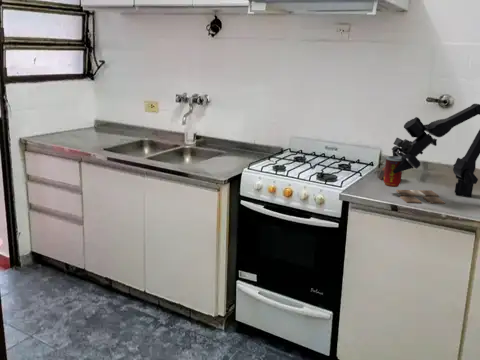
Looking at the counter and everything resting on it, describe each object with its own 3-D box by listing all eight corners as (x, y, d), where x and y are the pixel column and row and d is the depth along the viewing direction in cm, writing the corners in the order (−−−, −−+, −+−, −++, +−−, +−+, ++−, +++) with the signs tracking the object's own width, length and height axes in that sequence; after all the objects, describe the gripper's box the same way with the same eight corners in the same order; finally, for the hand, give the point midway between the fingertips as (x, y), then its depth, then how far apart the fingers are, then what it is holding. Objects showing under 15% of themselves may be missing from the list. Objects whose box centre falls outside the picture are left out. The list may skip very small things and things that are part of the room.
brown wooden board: (431, 191, 222) (431, 190, 221) (438, 196, 215) (438, 195, 215) (396, 191, 220) (396, 189, 220) (402, 195, 213) (402, 194, 213)
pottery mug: (379, 176, 245) (390, 163, 243) (395, 188, 241) (406, 174, 239) (373, 175, 235) (384, 161, 232) (389, 187, 231) (401, 173, 229)
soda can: (398, 183, 218) (402, 156, 215) (401, 188, 212) (405, 159, 208) (382, 182, 219) (385, 155, 216) (384, 187, 212) (387, 158, 209)
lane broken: (436, 198, 212) (437, 196, 212) (444, 203, 206) (444, 202, 205) (400, 197, 211) (400, 196, 211) (406, 202, 204) (407, 201, 204)
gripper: (398, 127, 218) (371, 152, 220) (416, 135, 200) (386, 162, 202) (413, 145, 221) (386, 169, 223) (433, 155, 203) (403, 181, 205)
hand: (390, 170), depth 213 cm, fingers closed on soda can, 7 cm apart
